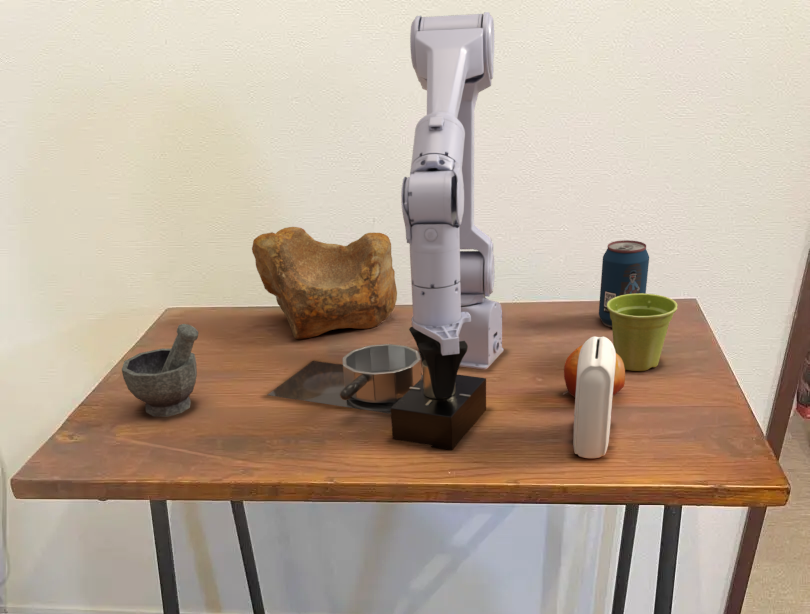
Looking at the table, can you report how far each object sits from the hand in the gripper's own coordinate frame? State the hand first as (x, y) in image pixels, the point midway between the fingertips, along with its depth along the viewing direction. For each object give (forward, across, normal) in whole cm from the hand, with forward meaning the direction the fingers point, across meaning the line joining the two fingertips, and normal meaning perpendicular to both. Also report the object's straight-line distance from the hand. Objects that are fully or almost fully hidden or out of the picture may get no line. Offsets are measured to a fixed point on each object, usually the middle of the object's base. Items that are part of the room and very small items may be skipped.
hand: (439, 389), depth 109 cm
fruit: (+5, +2, -21) cm, 22 cm away
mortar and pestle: (+5, +16, +34) cm, 38 cm away
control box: (+5, 0, 0) cm, 5 cm away
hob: (+5, +15, +9) cm, 18 cm away
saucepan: (+5, +10, +7) cm, 13 cm away
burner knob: (0, 0, 0) cm, 0 cm away
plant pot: (+5, +11, -31) cm, 33 cm away
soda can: (+5, +28, -35) cm, 45 cm away
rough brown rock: (+5, +40, +11) cm, 42 cm away
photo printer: (+5, -9, -17) cm, 20 cm away
